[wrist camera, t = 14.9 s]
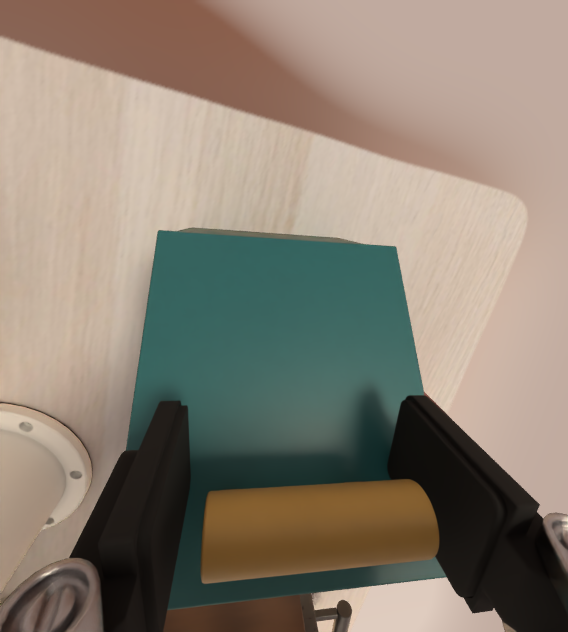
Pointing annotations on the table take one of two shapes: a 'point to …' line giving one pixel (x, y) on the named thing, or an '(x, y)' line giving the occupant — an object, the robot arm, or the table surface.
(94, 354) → the table surface
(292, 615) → the cabinet
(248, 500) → the chest lid
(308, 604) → the rack drawer
